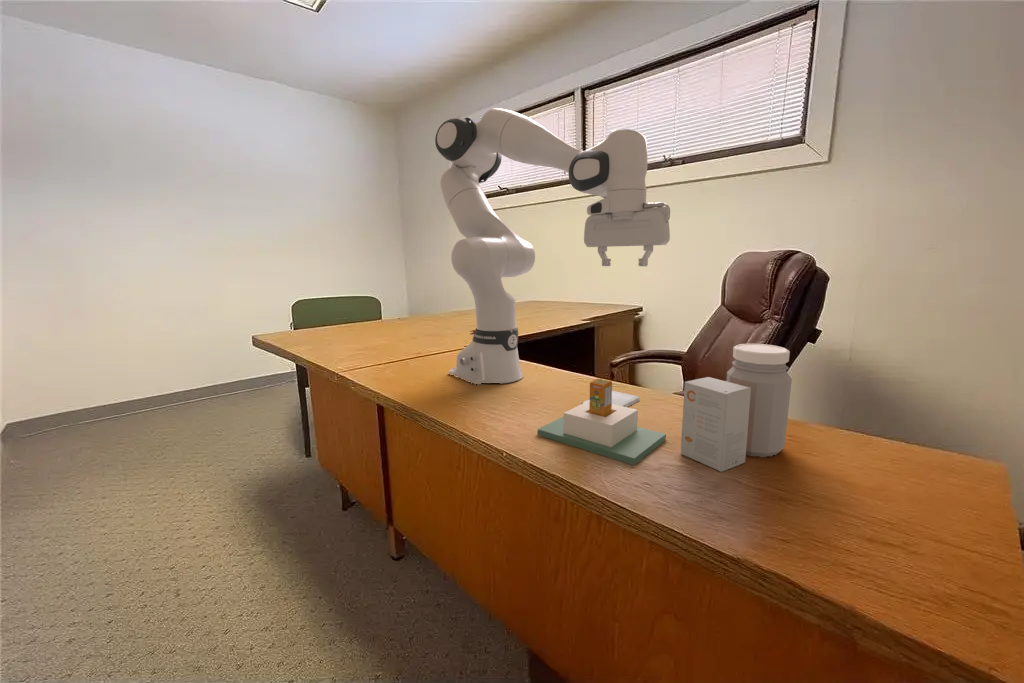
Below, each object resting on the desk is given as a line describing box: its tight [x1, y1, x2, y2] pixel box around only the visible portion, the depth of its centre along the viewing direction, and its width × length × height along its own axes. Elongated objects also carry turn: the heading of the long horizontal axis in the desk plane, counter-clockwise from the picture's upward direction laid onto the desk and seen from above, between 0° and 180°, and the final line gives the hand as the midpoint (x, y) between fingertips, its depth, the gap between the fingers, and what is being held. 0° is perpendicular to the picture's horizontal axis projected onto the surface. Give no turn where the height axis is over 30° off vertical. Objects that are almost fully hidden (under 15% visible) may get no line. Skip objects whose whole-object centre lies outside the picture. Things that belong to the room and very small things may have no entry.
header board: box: [537, 399, 667, 466], centre depth 84 cm, size 20×13×5 cm, turn 49°
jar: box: [725, 343, 793, 458], centre depth 78 cm, size 10×10×18 cm
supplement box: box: [589, 378, 613, 417], centre depth 83 cm, size 3×3×10 cm
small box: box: [680, 376, 751, 473], centre depth 74 cm, size 8×6×13 cm
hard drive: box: [580, 390, 640, 408], centre depth 104 cm, size 2×8×12 cm
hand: (624, 266), depth 105 cm, fingers open, 8 cm apart
